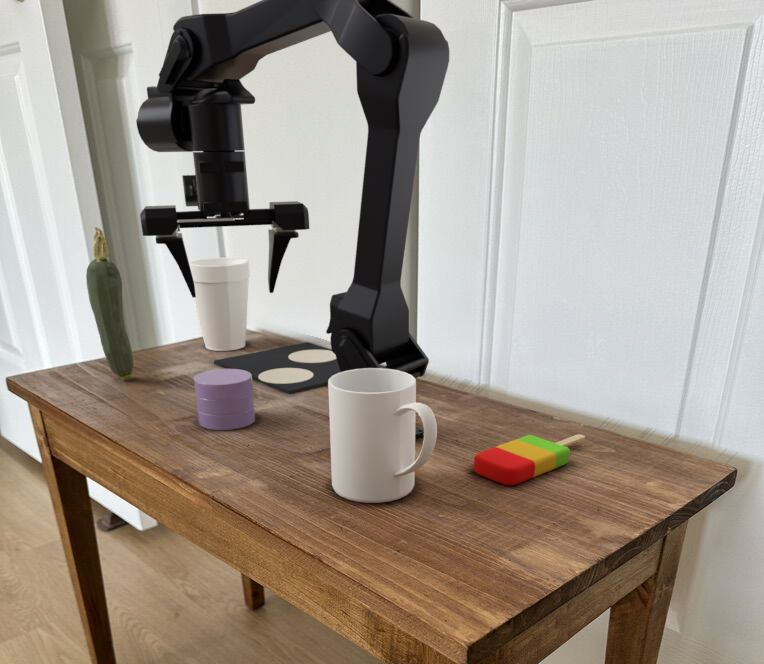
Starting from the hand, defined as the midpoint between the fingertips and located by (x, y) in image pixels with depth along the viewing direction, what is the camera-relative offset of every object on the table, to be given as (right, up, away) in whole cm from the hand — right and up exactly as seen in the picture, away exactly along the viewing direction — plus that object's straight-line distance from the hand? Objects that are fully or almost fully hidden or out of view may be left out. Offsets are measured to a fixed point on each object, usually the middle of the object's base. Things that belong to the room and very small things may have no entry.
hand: (233, 294), depth 91 cm
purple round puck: (0, -12, -3) cm, 13 cm away
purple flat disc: (0, -15, -2) cm, 16 cm away
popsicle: (+34, -21, -13) cm, 42 cm away
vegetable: (-18, -8, +13) cm, 24 cm away
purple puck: (0, -14, -3) cm, 14 cm away
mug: (+18, -25, -20) cm, 37 cm away
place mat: (+6, -5, +19) cm, 21 cm away
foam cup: (-7, 0, +31) cm, 32 cm away
